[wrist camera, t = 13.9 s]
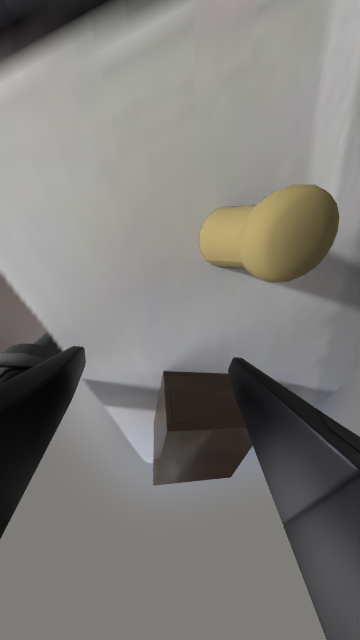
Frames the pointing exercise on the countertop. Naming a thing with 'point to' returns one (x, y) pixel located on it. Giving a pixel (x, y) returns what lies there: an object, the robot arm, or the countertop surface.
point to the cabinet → (197, 429)
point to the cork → (273, 233)
